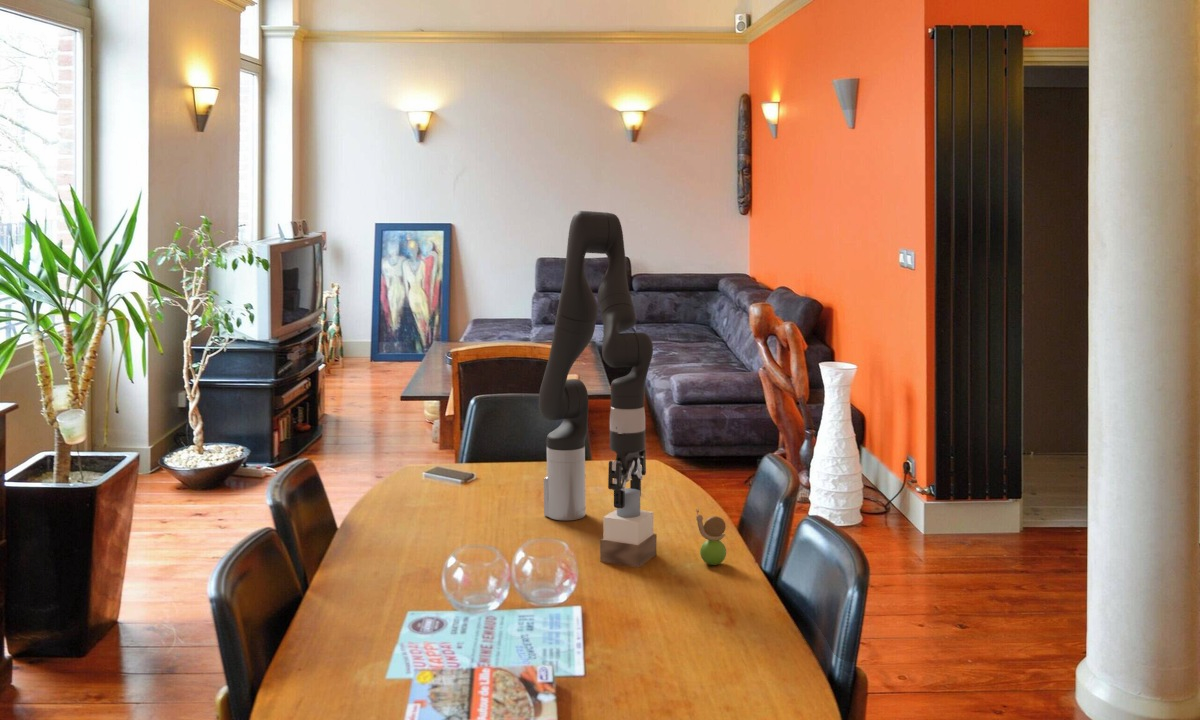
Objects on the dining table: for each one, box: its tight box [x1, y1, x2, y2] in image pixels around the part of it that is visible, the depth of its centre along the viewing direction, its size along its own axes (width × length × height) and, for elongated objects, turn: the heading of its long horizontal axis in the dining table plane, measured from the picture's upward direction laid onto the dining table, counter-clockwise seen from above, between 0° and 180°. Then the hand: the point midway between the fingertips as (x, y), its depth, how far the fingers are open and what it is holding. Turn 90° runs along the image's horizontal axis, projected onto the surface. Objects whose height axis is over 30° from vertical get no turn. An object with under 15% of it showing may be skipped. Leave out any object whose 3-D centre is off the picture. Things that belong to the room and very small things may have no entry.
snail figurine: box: [695, 508, 727, 566], centre depth 223 cm, size 5×6×12 cm
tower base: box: [599, 532, 658, 569], centre depth 228 cm, size 9×9×5 cm
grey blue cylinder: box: [616, 487, 641, 518], centre depth 226 cm, size 5×5×5 cm
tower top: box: [602, 508, 654, 545], centre depth 227 cm, size 8×8×5 cm
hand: (627, 502), depth 226 cm, fingers open, 8 cm apart
